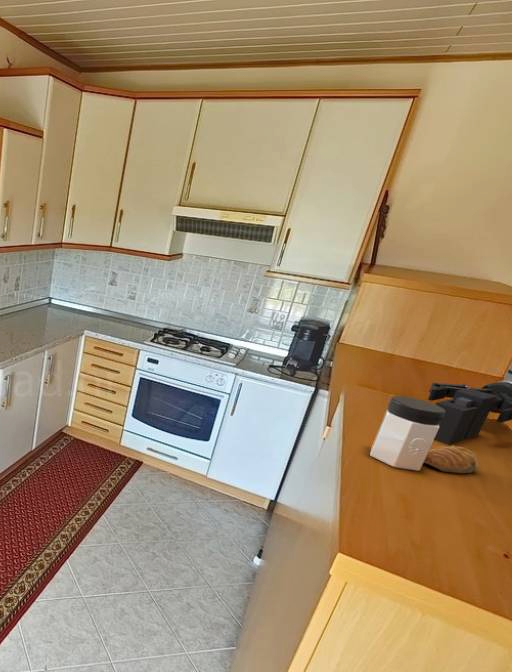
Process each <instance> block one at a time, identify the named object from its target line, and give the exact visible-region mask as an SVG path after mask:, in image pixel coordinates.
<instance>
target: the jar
mask: <svg viewBox="0 0 512 672" xmlns="http://www.w3.org/2000/svg"><path fill="white" fill-rule="evenodd" d="M444 414H445V410H444V409H443V408H441V407H440V406H437V405H436V403H432V402H431V401H430V402H429V401H426V400H423V399H419V398H415V397H410V396H404V395H394V396H392V397H391V398H390V401H389V403H388V405H387V408H386V411H385V413H384V415H383V418H382V421H381V423H380V425H379V428H378V430H377V433H376V435H375V436H374V437H375V438H374V440H373V443H372V445H371V447H370V453H369V456H370V457H371V458H373V459H376V460H378V461H380V462H382V463H384V464H386V465H389V466H391V467H393V468H396V469H403V470H410V471H416V472H419V471H421V469H422V466H423V464H424V460H425V458H426V456H427V454H428V451H429V450H431V447H432V445H433V443H434V440H435V439H434V438H435V436H436V434H437V432H438V429H439V424H440V423H441V421H442V420H443V418H444Z"/></svg>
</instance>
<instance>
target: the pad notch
mask: <svg viewBox="0 0 512 672" xmlns="http://www.w3.org/2000/svg"><path fill="white" fill-rule="evenodd" d="M435 405H437V406H440V407H441V408H443V409H444V410H445V414H444V418H443V420H442V421H441V423H440V424H439V429H438V432H437V434H436V436H435V438H434V440H436V441H439V442H442V443H444V444H446V445H451V444H452V445H453V444H455V443H459V442H462V441H464V440H465V439H464V437H465V435H466V433H467V431H468V428H469V426H470V424H471V422H472V420H473V418H474V416H475V414H476V412H477V410H478V408H477V407H471V408H467V407H464V406H460V405H457V404H454V400H452V398H450V399H445V400H441V401H436V403H435Z"/></svg>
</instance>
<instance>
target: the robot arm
mask: <svg viewBox="0 0 512 672" xmlns="http://www.w3.org/2000/svg"><path fill="white" fill-rule="evenodd" d="M469 388H470V389H474V390H477V391H481V392H484V393H488V394H491V395H495V396H497V398H496V400H495V402H494V404H493V406H492V408H491V410H490V412H489V413H493V414H499V415H498V417H497V419H496V420H495V422H496V423H500V424H501V423H505V422H508V421H512V363H511V364H510V366H509V369H508V370H507V372H506V373H505V376H504V377H503V380H500V381H496V382H491V383H487V384H485V385H484V386H483V387H481V388H478V387H469ZM469 388H468V385H467V384H466V383H459V384H456V383H445V382H444V383H443V382H432V384H431V386H430V388H429V391H428V393H429V396H428V398H427V400H428V401H430V402H432V401H439V400H443V399H445V398H450V399H453V397H454V395H455V393H456V391H458V390H464V389H469Z"/></svg>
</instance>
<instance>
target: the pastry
mask: <svg viewBox="0 0 512 672" xmlns="http://www.w3.org/2000/svg"><path fill="white" fill-rule="evenodd" d="M423 464H427V465H429V466H431V467H434V468H436V469H438V470H440V471H441V472H445V473H453V474H466V473H467V474H472V472H474V471H476V470H478V469H479V467H480V466H479V464H478V460H477V458H476V454H475V453H474V452H473V451H471V450H470V449H468V448H466V447H463V446H456V445H451V446H442V445H441V446H436V447H434V448H430V449H429V451H428V454H427V456H426V458H425V460H424V462H423Z"/></svg>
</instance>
